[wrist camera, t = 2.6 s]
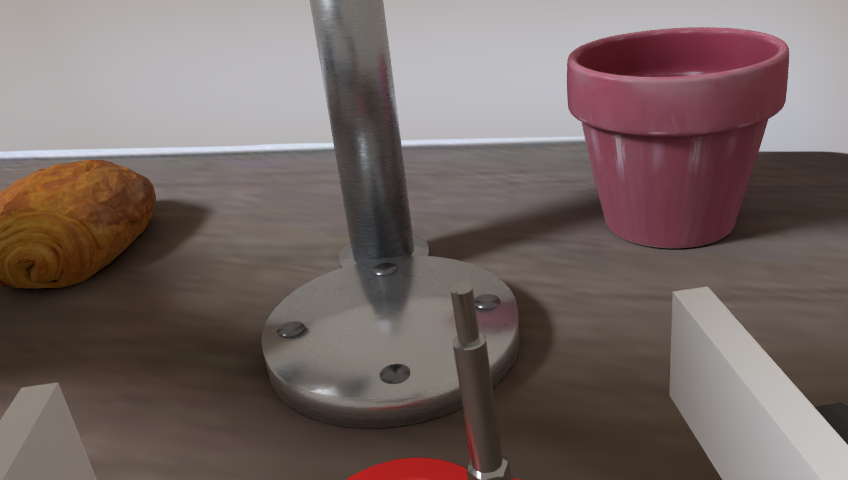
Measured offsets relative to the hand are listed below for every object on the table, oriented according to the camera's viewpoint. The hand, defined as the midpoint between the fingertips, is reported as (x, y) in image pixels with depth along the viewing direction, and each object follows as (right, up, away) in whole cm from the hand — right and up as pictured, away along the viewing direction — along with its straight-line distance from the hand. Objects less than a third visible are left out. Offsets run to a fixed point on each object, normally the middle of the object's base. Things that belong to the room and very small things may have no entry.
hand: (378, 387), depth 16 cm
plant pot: (+19, +4, +40) cm, 44 cm away
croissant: (-28, +2, +47) cm, 55 cm away
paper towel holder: (-1, -2, +32) cm, 32 cm away
